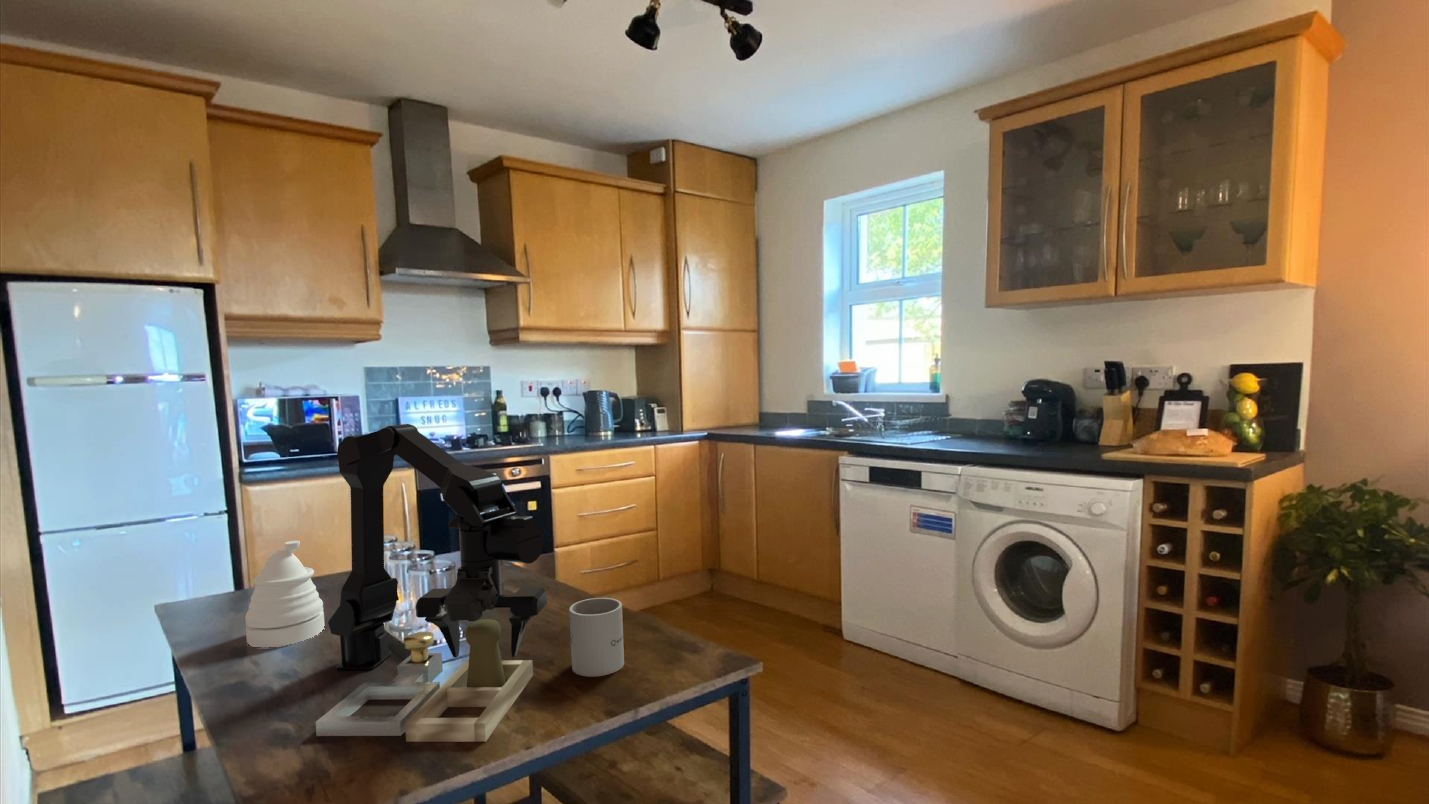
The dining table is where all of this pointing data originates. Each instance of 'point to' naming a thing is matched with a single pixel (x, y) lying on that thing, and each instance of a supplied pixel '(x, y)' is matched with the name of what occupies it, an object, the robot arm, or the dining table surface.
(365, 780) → the dining table surface
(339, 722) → the socket block
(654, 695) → the dining table surface
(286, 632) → the honey pot
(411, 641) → the release key
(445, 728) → the rack
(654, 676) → the dining table surface
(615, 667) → the mug
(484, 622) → the cork
